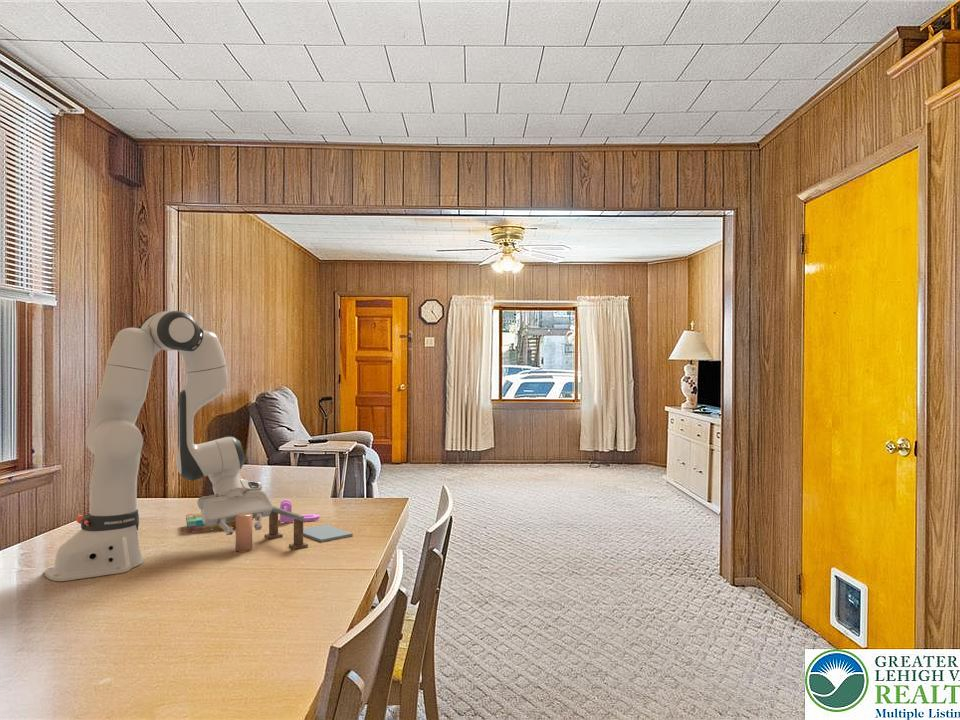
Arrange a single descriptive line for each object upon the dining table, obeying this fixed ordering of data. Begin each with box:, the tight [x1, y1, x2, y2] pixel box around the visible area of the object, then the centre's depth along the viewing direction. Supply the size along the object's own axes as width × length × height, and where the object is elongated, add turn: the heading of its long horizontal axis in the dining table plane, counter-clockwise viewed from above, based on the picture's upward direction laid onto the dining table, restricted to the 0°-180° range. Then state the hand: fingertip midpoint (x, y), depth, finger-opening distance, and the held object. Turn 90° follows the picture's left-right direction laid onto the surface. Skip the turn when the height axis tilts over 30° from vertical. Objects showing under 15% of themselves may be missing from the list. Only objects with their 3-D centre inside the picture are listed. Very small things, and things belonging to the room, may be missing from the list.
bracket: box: [279, 499, 320, 523], centre depth 234 cm, size 13×6×7 cm, turn 106°
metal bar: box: [272, 505, 304, 521], centre depth 206 cm, size 1×20×1 cm, turn 43°
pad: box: [303, 524, 354, 543], centre depth 215 cm, size 11×16×1 cm
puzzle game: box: [185, 512, 254, 533], centre depth 226 cm, size 12×5×20 cm
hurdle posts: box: [264, 511, 309, 550], centre depth 206 cm, size 4×20×8 cm, turn 43°
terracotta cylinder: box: [234, 513, 253, 553], centre depth 197 cm, size 5×5×10 cm
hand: (244, 531), depth 196 cm, fingers open, 7 cm apart
